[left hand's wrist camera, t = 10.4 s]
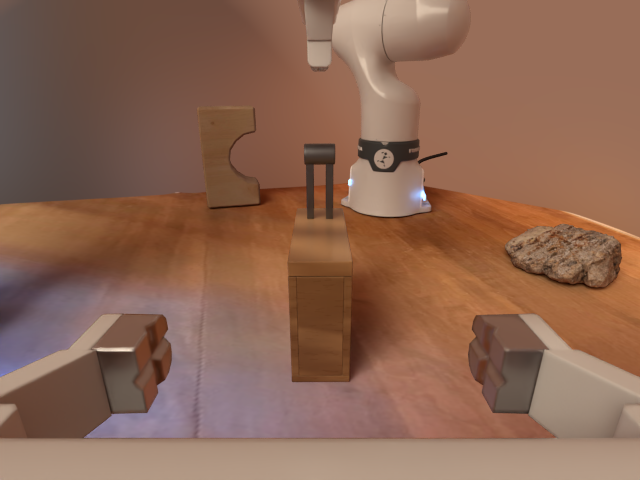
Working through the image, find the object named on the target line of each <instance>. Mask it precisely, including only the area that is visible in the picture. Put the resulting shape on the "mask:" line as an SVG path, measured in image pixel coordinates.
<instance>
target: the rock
mask: <svg viewBox="0 0 640 480" xmlns="http://www.w3.org/2000/svg"><path fill="white" fill-rule="evenodd" d="M527 230H528V231H526V232H525V233H523V234H521V235H520V236H518V237H515V238H513V239H512V240H510V241H509V242H508V243H507V244H506V245H505V249H506V251H507V252H508V254H509V255H510V256H511V257H512V259H511V261H512V263H513V265H514V266H516V267H519V268H522V269H524V270H525V271H526V272H529V273H536V274H545V275H547V276H548V277H549V278H551V279H552V280H556V281H558V282H567V283H570V284H575V283H585V284H586V285H587V286H590V287H605V286H607V285H609V283H611V282H613V280H615V279H616V278H617V275H618V272H619V270H620V268H619V264H620V263H621V259H622V257H621V244H620V243H619V242H618V240H616V239H615V238H614V237H613V236H608V235H607V234H602V233H599V232H596V231H585V230H583V229H582V228H575V227H574V226H572V225H567V224H560V225H558V226H556V227H554V228H553V227H546V226H537V227H535V228H532V229H527Z"/></svg>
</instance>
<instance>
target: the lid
mask: <svg viewBox="0 0 640 480" xmlns="http://www.w3.org/2000/svg"><path fill="white" fill-rule="evenodd" d="M304 162H305V164H306V183H307V208H305V209H297V213H296V219H295V224H294V230H293V235H292V241H291V247H290V252H289V258H288V276H352V272H353V261H352V255H351V250H350V245H349V240H348V234H347V229H346V224H345V219H344V214H343V209H342V208H333V164H335V144H304ZM314 164H326V208H314Z"/></svg>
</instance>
